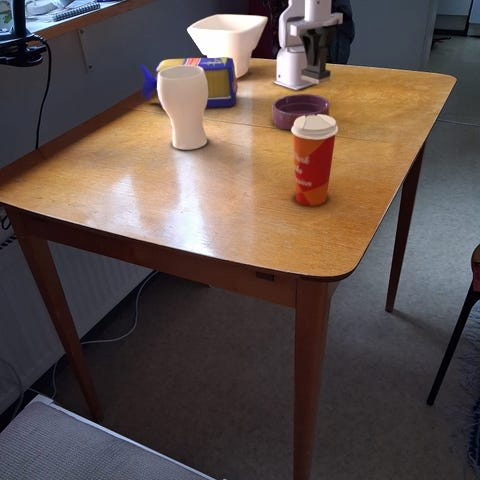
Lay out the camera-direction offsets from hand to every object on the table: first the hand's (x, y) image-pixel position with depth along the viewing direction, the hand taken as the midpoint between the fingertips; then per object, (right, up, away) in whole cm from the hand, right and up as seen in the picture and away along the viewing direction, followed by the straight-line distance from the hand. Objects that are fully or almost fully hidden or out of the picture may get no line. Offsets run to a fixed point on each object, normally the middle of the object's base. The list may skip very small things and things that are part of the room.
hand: (315, 63), depth 115 cm
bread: (-31, -3, +14) cm, 34 cm away
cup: (-29, -21, -5) cm, 36 cm away
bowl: (-20, +11, +29) cm, 37 cm away
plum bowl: (-3, -14, +1) cm, 14 cm away
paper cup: (-5, -39, -26) cm, 47 cm away
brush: (0, -3, +2) cm, 4 cm away
